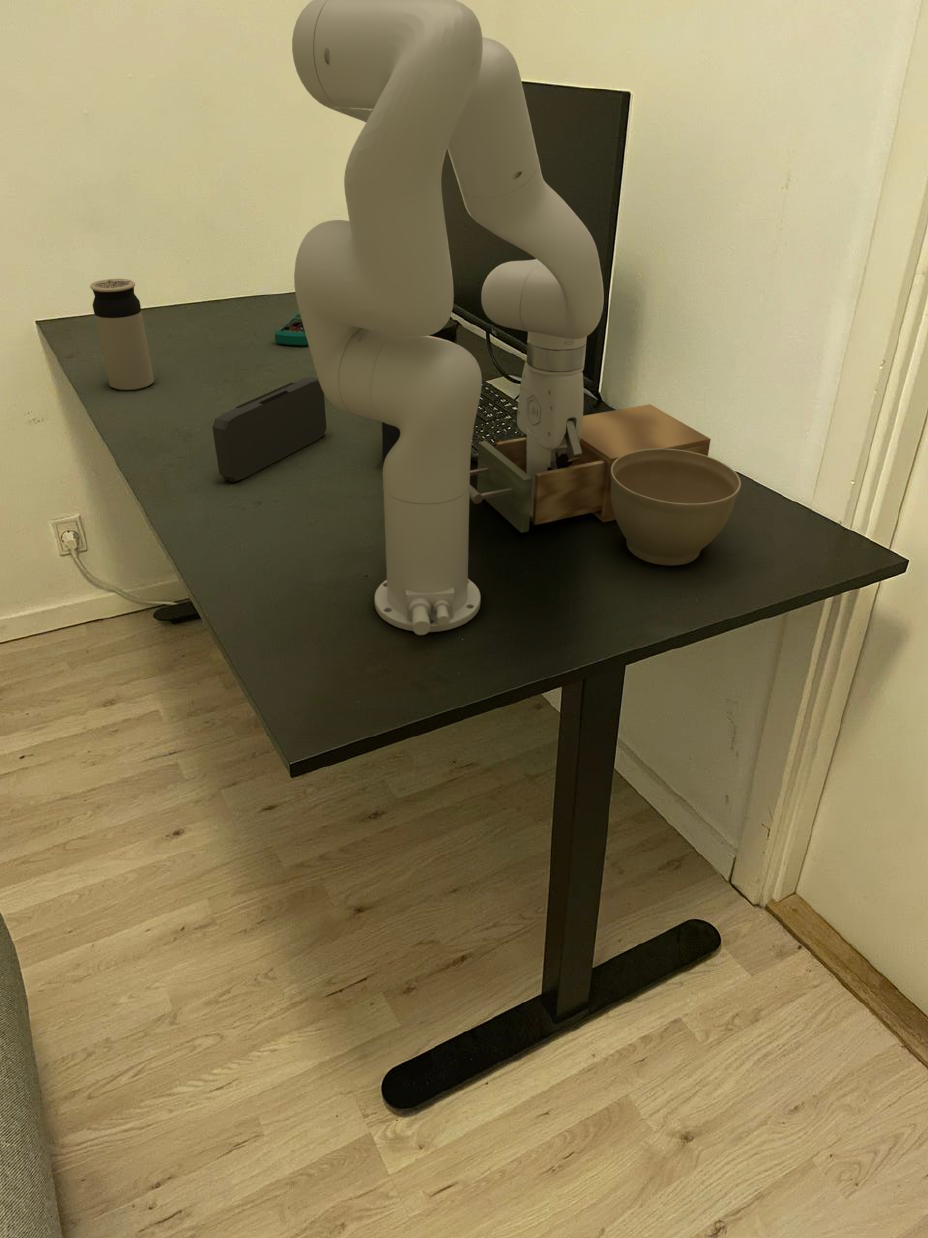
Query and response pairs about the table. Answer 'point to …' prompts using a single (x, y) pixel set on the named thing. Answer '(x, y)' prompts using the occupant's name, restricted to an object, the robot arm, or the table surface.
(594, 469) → the drawer
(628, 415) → the cabinet
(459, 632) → the table surface
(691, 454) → the planter bowl
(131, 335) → the travel mug
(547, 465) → the white coffee cup
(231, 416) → the handheld gaming console
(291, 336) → the digital multimeter
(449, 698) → the table surface
